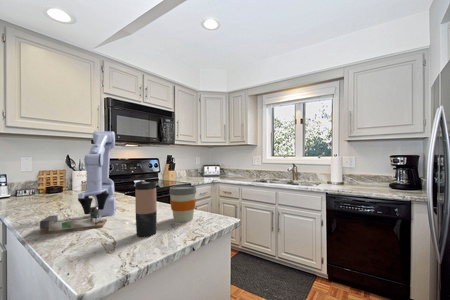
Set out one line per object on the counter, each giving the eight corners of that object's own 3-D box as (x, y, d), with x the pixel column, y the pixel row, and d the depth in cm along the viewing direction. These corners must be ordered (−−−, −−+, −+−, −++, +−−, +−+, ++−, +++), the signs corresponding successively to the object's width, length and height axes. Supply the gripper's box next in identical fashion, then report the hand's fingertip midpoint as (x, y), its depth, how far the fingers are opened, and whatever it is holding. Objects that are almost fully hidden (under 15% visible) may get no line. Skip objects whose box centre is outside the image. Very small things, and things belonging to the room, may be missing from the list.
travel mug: (161, 231, 85) (160, 180, 85) (148, 238, 78) (147, 183, 78) (145, 229, 87) (144, 180, 88) (131, 236, 80) (130, 183, 80)
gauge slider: (101, 218, 98) (101, 205, 98) (96, 223, 90) (96, 209, 90) (91, 219, 97) (91, 206, 97) (85, 225, 89) (85, 210, 89)
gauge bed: (106, 221, 100) (106, 210, 100) (102, 227, 91) (102, 215, 91) (49, 227, 93) (49, 215, 93) (39, 234, 84) (39, 221, 84)
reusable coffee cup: (192, 213, 109) (191, 184, 109) (200, 220, 98) (199, 187, 98) (167, 217, 104) (166, 186, 104) (172, 224, 92) (172, 190, 93)
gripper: (99, 178, 103) (99, 207, 102) (71, 182, 88) (72, 216, 88) (111, 178, 101) (112, 207, 101) (86, 183, 87) (86, 216, 87)
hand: (94, 211), depth 94 cm, fingers open, 7 cm apart
